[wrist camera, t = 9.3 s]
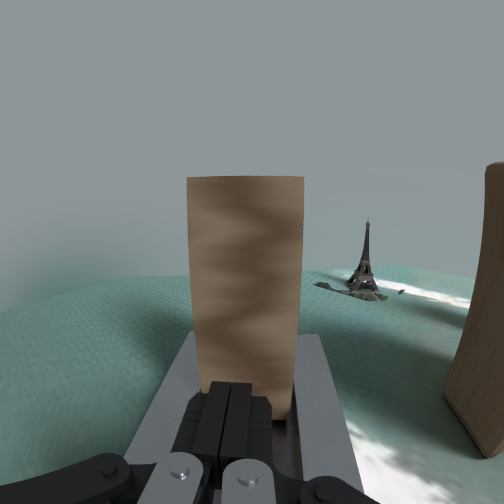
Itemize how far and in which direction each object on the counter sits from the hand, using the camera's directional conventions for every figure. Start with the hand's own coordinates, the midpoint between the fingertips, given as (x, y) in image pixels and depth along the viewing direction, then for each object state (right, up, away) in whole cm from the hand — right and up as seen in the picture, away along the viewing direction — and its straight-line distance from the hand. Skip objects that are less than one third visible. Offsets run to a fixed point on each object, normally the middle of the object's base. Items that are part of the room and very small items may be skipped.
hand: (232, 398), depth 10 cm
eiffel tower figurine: (+20, -2, +38) cm, 43 cm away
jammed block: (0, -6, +11) cm, 12 cm away
